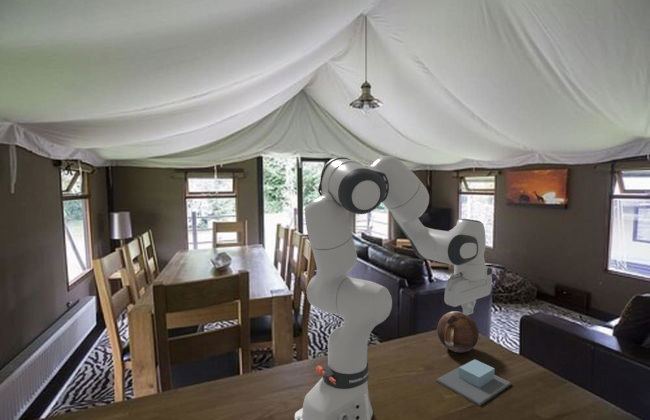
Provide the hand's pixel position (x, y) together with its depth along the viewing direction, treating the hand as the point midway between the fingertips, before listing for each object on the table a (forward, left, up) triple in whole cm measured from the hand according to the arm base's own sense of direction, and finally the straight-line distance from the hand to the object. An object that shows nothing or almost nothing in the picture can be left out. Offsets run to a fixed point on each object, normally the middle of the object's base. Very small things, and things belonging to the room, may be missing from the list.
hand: (468, 313), depth 104 cm
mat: (+4, 0, -24) cm, 24 cm away
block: (+2, 0, -22) cm, 22 cm away
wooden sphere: (+19, +16, -24) cm, 35 cm away
